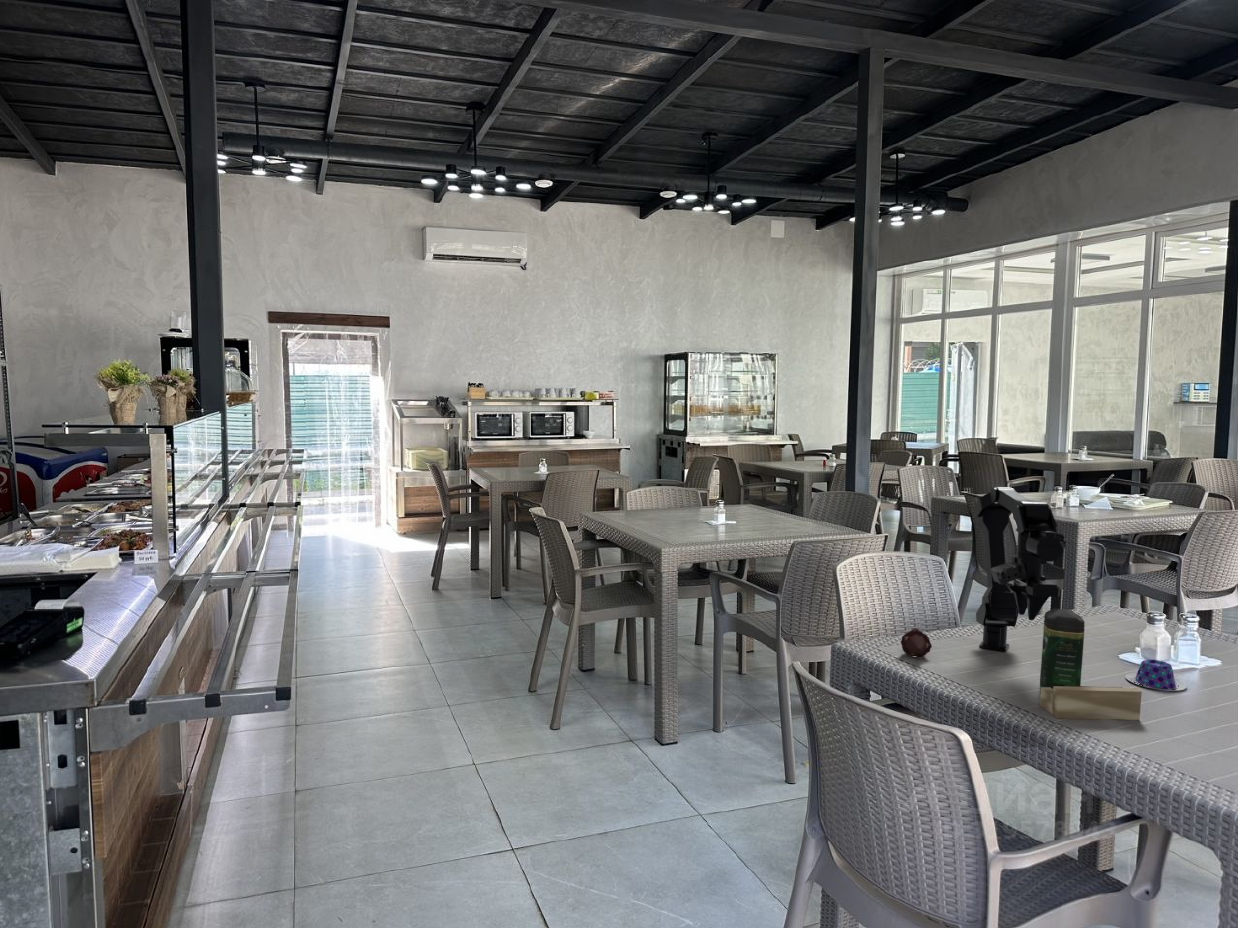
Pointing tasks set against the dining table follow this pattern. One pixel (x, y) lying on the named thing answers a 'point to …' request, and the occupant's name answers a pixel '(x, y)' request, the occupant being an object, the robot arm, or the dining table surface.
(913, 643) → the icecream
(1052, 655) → the coffee jar
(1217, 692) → the dining table surface
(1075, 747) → the dining table surface
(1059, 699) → the block
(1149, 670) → the purple patterned hat
